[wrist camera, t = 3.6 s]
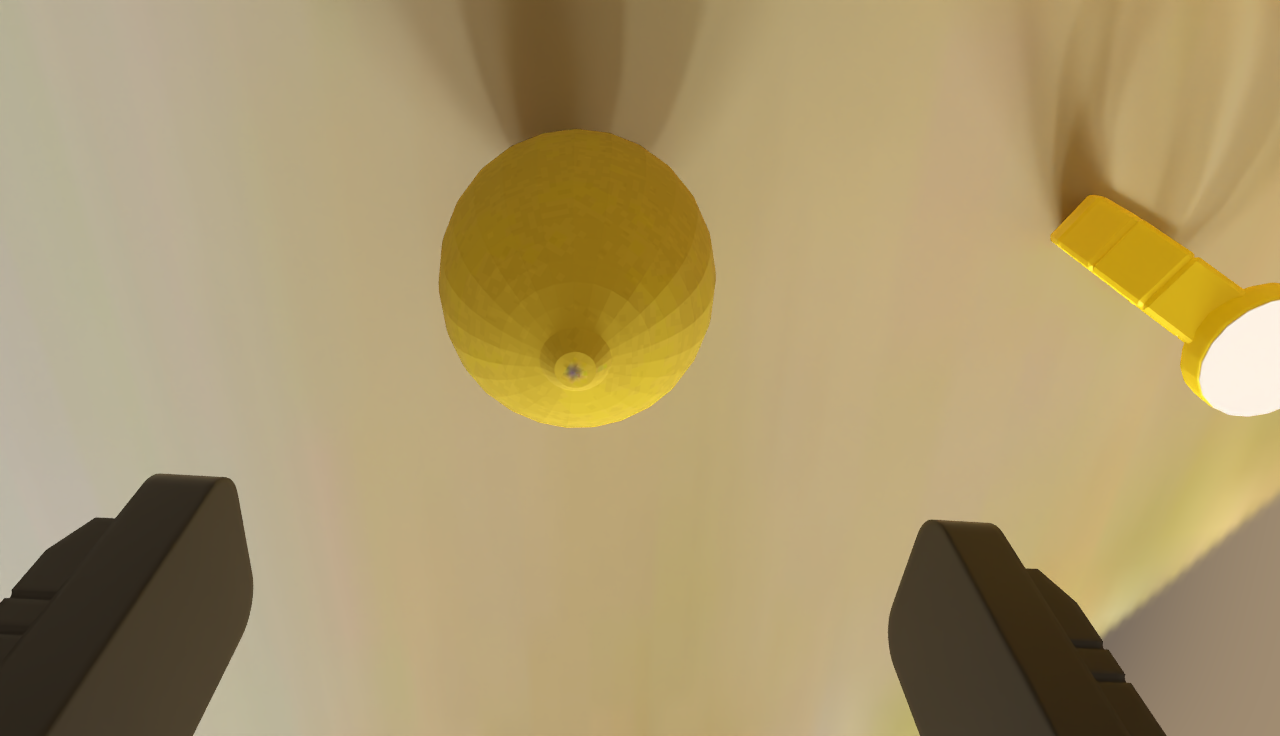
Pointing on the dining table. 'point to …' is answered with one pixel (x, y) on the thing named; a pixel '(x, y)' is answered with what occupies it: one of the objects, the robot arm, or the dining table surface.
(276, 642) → the dining table surface
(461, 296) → the lemon
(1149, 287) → the watch
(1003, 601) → the robot arm
